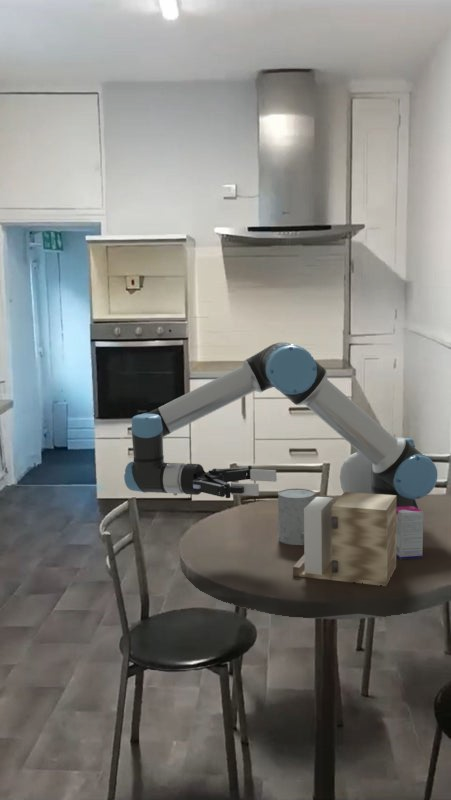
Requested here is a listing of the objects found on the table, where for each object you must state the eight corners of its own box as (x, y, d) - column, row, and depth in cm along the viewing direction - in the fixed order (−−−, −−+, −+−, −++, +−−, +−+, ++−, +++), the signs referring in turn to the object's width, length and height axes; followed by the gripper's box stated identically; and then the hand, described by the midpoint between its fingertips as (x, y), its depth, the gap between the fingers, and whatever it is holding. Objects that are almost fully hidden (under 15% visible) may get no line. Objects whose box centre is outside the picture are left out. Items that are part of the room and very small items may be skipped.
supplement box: (423, 557, 193) (424, 511, 191) (400, 559, 192) (400, 513, 191) (414, 550, 199) (414, 505, 197) (391, 552, 198) (391, 506, 196)
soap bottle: (390, 500, 245) (390, 415, 241) (385, 508, 237) (385, 420, 233) (343, 497, 250) (342, 414, 246) (337, 505, 241) (336, 419, 238)
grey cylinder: (313, 545, 204) (313, 498, 202) (276, 544, 206) (275, 497, 204) (317, 534, 213) (316, 489, 212) (281, 533, 215) (280, 488, 214)
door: (333, 559, 192) (333, 497, 190) (321, 574, 182) (321, 510, 180) (312, 557, 194) (311, 496, 192) (299, 572, 183) (298, 508, 181)
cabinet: (396, 566, 187) (396, 495, 185) (384, 588, 174) (385, 511, 172) (308, 557, 195) (307, 489, 193) (291, 577, 182) (290, 504, 179)
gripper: (205, 481, 211) (283, 485, 203) (164, 507, 188) (250, 512, 180) (203, 453, 210) (282, 455, 202) (162, 475, 187) (249, 479, 179)
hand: (267, 482), depth 191 cm, fingers open, 13 cm apart
